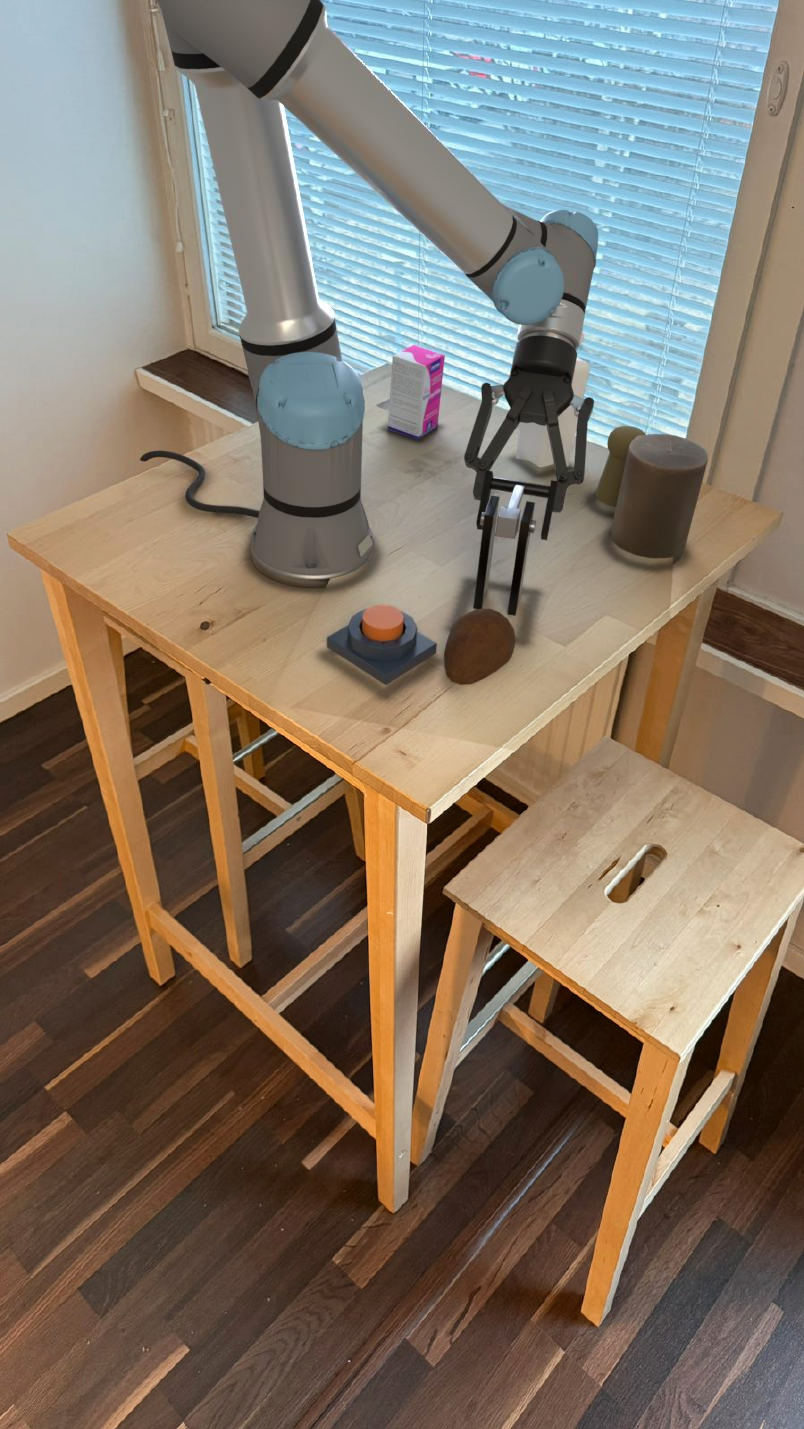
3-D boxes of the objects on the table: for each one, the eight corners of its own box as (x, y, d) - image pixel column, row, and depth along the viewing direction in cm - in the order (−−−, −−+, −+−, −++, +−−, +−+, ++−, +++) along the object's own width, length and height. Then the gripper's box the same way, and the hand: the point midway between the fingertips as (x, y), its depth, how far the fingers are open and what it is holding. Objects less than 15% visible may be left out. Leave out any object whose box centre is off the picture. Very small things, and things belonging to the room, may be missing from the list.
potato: (423, 681, 111) (428, 629, 106) (469, 633, 118) (475, 582, 113) (481, 705, 108) (488, 653, 104) (524, 654, 115) (532, 603, 110)
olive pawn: (634, 495, 143) (651, 422, 136) (637, 518, 139) (655, 443, 132) (591, 491, 144) (605, 418, 136) (593, 513, 139) (608, 438, 132)
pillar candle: (657, 576, 128) (685, 468, 118) (593, 545, 133) (615, 439, 123) (697, 547, 134) (727, 442, 124) (634, 519, 139) (658, 415, 129)
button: (353, 629, 110) (353, 616, 109) (381, 612, 113) (382, 599, 112) (383, 647, 108) (383, 634, 107) (411, 630, 111) (412, 617, 109)
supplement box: (419, 441, 152) (424, 366, 145) (386, 429, 155) (389, 355, 147) (439, 427, 156) (445, 353, 149) (407, 416, 158) (411, 343, 151)
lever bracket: (470, 582, 125) (481, 481, 116) (534, 593, 124) (551, 492, 115) (454, 629, 118) (465, 525, 109) (523, 641, 117) (540, 537, 108)
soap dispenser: (546, 449, 153) (569, 299, 138) (573, 468, 148) (600, 315, 134) (510, 458, 150) (530, 306, 135) (537, 478, 146) (561, 323, 131)
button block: (326, 656, 113) (326, 623, 110) (376, 626, 118) (378, 594, 115) (385, 695, 109) (387, 662, 106) (435, 662, 113) (438, 629, 110)
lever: (490, 490, 124) (493, 471, 123) (548, 499, 123) (551, 480, 122) (473, 532, 113) (476, 512, 112) (536, 542, 112) (539, 522, 111)
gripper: (463, 321, 121) (426, 510, 120) (633, 344, 118) (597, 537, 117) (467, 348, 128) (432, 526, 127) (627, 370, 126) (593, 552, 124)
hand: (511, 531), depth 122 cm, fingers closed on lever, 7 cm apart
